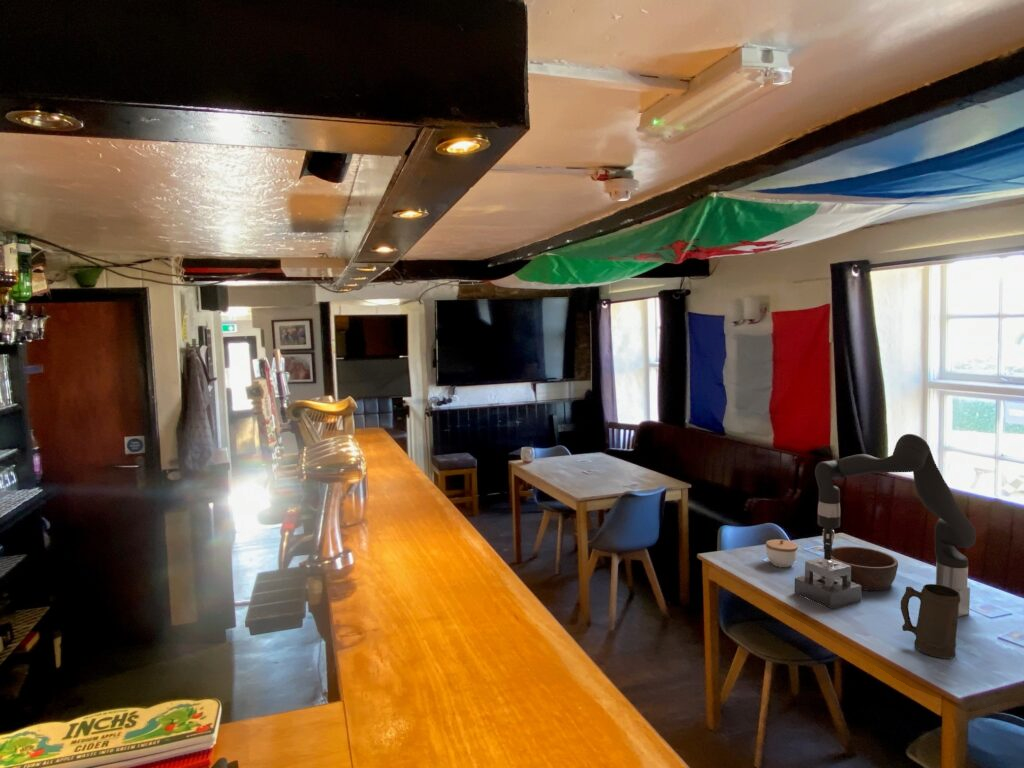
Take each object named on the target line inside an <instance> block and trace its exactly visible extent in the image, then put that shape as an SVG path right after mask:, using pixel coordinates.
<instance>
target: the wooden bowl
mask: <svg viewBox="0 0 1024 768" xmlns="http://www.w3.org/2000/svg"><path fill="white" fill-rule="evenodd" d="M831 559H833V560H836V561H839V562H841V563H844V564H847V565H849V566H851V582H854V583H856V584H859V585H861V586H862V587H861V591H862V590H863V591H882V590H886V589H888V588H890V587H891V586H892V584H893V583H894V581H895V579H896V577H897V571H898V566H899V562H898V560H897V558H895V557H894V556H893V555H891V554H888V553H886V552H884V551H881V550H878V549H872V548H870V547H861V546H851V545H848V546H847V545H845V546H844V545H843V546H834V547H832V552H831ZM841 578H842V576H841Z"/></svg>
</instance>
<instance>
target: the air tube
mask: <svg viewBox="0 0 1024 768" xmlns="http://www.w3.org/2000/svg"><path fill="white" fill-rule="evenodd" d="M822 565H824V566H827V567H833V566H834V561H833V560H826V559H823V560H822ZM822 583H823V584H825V577H823V576H822Z"/></svg>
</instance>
